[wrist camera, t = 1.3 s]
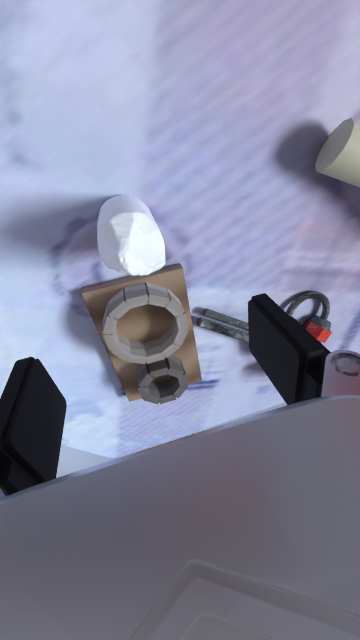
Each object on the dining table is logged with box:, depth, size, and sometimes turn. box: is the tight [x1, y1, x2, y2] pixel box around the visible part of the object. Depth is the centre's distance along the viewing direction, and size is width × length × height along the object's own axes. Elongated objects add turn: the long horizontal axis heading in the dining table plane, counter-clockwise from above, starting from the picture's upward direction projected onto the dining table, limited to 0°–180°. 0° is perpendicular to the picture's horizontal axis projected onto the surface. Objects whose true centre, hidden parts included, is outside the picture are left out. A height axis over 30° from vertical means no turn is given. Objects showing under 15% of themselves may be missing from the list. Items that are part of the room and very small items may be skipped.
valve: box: [197, 291, 332, 343], centre depth 41 cm, size 6×26×15 cm
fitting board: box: [82, 263, 202, 404], centre depth 36 cm, size 20×12×4 cm, turn 10°
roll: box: [97, 195, 165, 276], centre depth 24 cm, size 6×12×6 cm
